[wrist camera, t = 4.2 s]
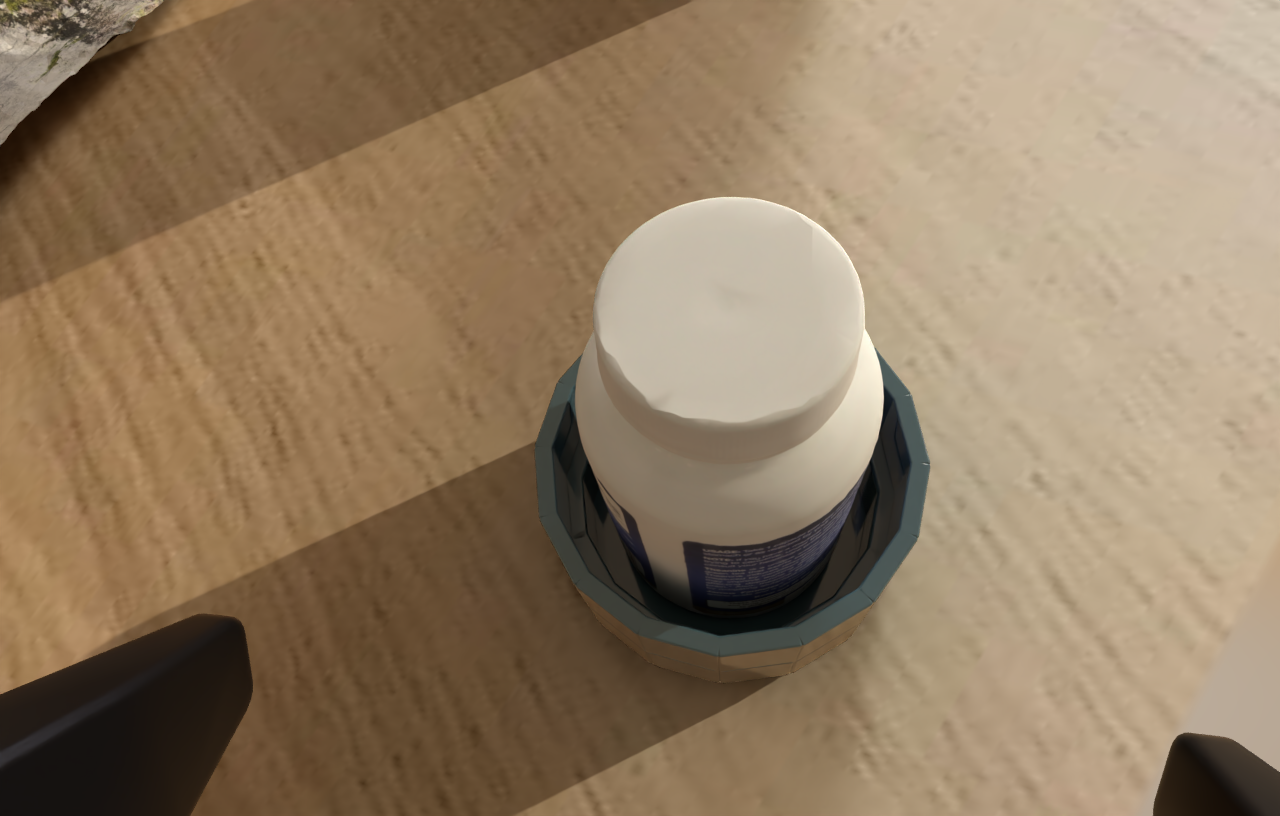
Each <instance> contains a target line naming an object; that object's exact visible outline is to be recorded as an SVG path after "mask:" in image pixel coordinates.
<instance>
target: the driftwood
mask: <svg viewBox="0 0 1280 816" xmlns="http://www.w3.org/2000/svg"><path fill="white" fill-rule="evenodd" d="M163 1H164V0H0V145H1V144H2V143H3V142H4V141H5V140H6V139H7V137H8V135H9V134H10V133H11V132H12V131H13V130H14V128H15V127H16V126H17V124H18V123H19V122H20V121H22V120H23V119H24V118H25V117H26V116H27V115H28V114H29V113H30V112H31V111H34V110H35V109H36V108H37V107H38V106H39V105H40V104H41V103H42V101H43V100H44V99H45V98H47V97H48V96H49V95H50V94H51V93H52V92H53V91H54V90H55V89H56V88H57V87H58V86H59V85H60V84H61V83H62V82H63V81H65V80H66V79H67V78H68V77H70V76H71V75H74V74H76V73H77V72H78V70H79V69H80V68H81V67H83V66H84V65H85V64H86V63H87V62H88V61H89V60H90V59H91V58H92V56H93V55H94V54H95V53H96V52H97V50H98V49H99V48H100V47H102V46H103V45H105V44H106V43H107V41H108V40H109V39H110V38H111V37H112V36H114V35H116V34H123V33H126V32H130V31H132V29H133V27H134V25H135V22H136V21H137V20H138V19H139V18H140V17H142V16H145V15H147V14H149V13H150V12H152V11H153V10H154V9H155V8H156V7H158V6H159V5H160V4H161V3H162V2H163Z"/></svg>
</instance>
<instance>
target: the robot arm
mask: <svg viewBox="0 0 1280 816" xmlns="http://www.w3.org/2000/svg"><path fill="white" fill-rule="evenodd" d="M252 692H253V679H252V673H251V667H250V660H249V654H248V647H247V641H246V635H245V630H244V626H243V625H242V623H241V622H240V621H239V620H238V619H236V618H235V617H230V616H221V615H213V614H197V615H194V616H191V617H189V618H186V619H184V620H182V621H179V622H177V623H174V624H172V625H169V626H167V627H164V628H162V629H160V630H157V631H155V632H152V633H150V634H147V635H145V636H142V637H140V638H138V639H135V640H133V641H130V642H128V643H125V644H123V645H120V646H118V647H115V648H113V649H111V650H108V651H106V652H103V653H101V654H98V655H96V656H93V657H91V658H89V659H86V660H84V661H81V662H79V663H76V664H74V665H71V666H69V667H67V668H64V669H62V670H59V671H57V672H54V673H52V674H49V675H47V676H45V677H42V678H40V679H37V680H35V681H32V682H30V683H27V684H25V685H22V686H20V687H18V688H15V689H13V690H10V691H8V692H5V693H3V694H0V816H190V815H191V813H192V811H193V809H194V807H195V805H196V804H197V802H198V800H199V798H200V796H201V794H202V792H203V791H204V789H205V787H206V785H207V783H208V781H209V779H210V778H211V776H212V774H213V772H214V770H215V768H216V766H217V765H218V763H219V761H220V759H221V757H222V755H223V753H224V752H225V750H226V748H227V746H228V744H229V742H230V740H231V738H232V737H233V735H234V733H235V731H236V729H237V727H238V725H239V724H240V722H241V720H242V718H243V716H244V714H245V712H246V711H247V708H248V706H249V703H250V700H251V697H252ZM1153 816H1280V772H1279V771H1277V770H1276V769H1274V768H1273V767H1272V766H1270V765H1269V764H1267V763H1266V762H1264V761H1263V760H1262V759H1260V758H1259V757H1257V756H1256V755H1254V754H1253V753H1252V752H1250V751H1248V750H1247V749H1246V748H1245V747H1243V746H1242V745H1240V744H1239V743H1237V742H1236V741H1234V740H1232V739H1229V738H1226V737H1220V736H1212V735H1204V734H1195V733H1183V734H1180V735H1179V736H1177V737H1176V739H1175V740H1174V741H1173V743H1172V746H1171V748H1170V751H1169V755H1168V758H1167V761H1166V765H1165V768H1164V771H1163V774H1162V778H1161V781H1160V784H1159V788H1158V791H1157V794H1156V798H1155V801H1154V808H1153Z"/></svg>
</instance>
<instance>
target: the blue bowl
mask: <svg viewBox="0 0 1280 816" xmlns="http://www.w3.org/2000/svg"><path fill="white" fill-rule="evenodd" d="M874 349H875V351H876V354H877V357H878V360H879V364H880V368H881V373H882V380H883V393H884V402H883V416H882V421H881V426H880V431H879V434H878V440H877V442H876V445H875V447H874V451H873V454H872V457H871V459H870V461H869V463H868V466H867V468H866V471H865V473H864V475H863V478H862V481H861V484H860V486H859V488H858V490H857V493H856V495H855V498H854V502H853V504H852V506H851V509H850V511H849V514H848V516H847V519H846V522H845V524H844V526H843V529H842V531H841V535H840V538H839V541H838V543H837V545H836V547H835V549H834V551H833V553H832V555H831V557H830V560H829V561H828V563H827V564H826V566H825V568H824V569H823V571H822V572H821V573H820V575H819V576H818V577H817V578H816V579H815V581H814V582H813V583H812V584H811V585H810V586H809V587H808V588H807V589H806V590H804V591H803V592H802V593H801V594H800V595H799V596H798V597H796V598H795V599H793V600H792V601H790V602H789V603H787V604H785V605H783V606H781V607H779V608H778V609H775V610H773V611H770V612H767V613H764V614H761V615H757V616H752V617H745V618H732V619H730V618H716V617H712V616H707V615H703V614H699V613H696V612H692V611H689V610H687V609H685V608H683V607H681V606H678V605H676V604H675V603H673V602H671V601H669V600H668V599H666V598H664V597H663V596H662V595H660V594H659V593H657V592H656V591H655V590H654V589H653V588H652V587H651V586H650V585H648V584H647V582H646V581H645V580H644V579H643V577H642V576H641V575H640V574H639V572H638V571H637V569H636V568H635V567H634V565H633V563H632V562H631V560H630V558H629V556H628V554H627V552H626V550H625V549H624V546H623V544H622V543H621V540H620V538H619V535H618V533H617V530H616V528H615V525H614V523H613V521H612V519H611V516H610V514H609V511H608V508H607V506H606V503H605V501H604V498H603V496H602V493H601V490H600V488H599V485H598V483H597V480H596V478H595V475H594V473H593V471H592V468H591V465H590V463H589V461H588V458H587V456H586V454H585V451H584V449H583V446H582V442H581V438H580V434H579V429H578V424H577V417H576V408H575V390H576V380H577V374H578V369H579V365H580V361H581V358H582V355H583V353H582V355H581V356H580V357H579V358H578V359H577V360H576V361H575V362H574V364H573V365H572V366H571V367H570V368H569V369H568V370H567V371H566V373H565V374H564V375H563V376H562V377H561V378H560V379H559V381H558V383H557V384H556V387H555V390H554V393H553V395H552V398H551V401H550V404H549V407H548V410H547V412H546V415H545V418H544V421H543V424H542V427H541V429H540V432H539V435H538V438H537V441H536V443H535V449H534V454H535V468H536V483H537V497H538V512H539V518H540V522H541V524H542V526H543V527H544V529H545V531H546V533H547V535H548V537H549V539H550V541H551V543H552V544H553V546H554V548H555V550H556V552H557V554H558V556H559V558H560V560H561V561H562V563H563V565H564V567H565V569H566V571H567V573H568V575H569V577H570V578H571V580H572V582H573V584H574V585H575V587H576V588H577V590H578V591H579V593H580V595H581V596H582V598H583V599H584V601H585V602H586V603H587V605H588V606H589V608H590V609H591V611H592V612H593V614H594V615H595V617H596V619H597V620H598V621H599V622H600V623H601V624H602V625H603V626H604V627H605V628H607V629H608V630H609V631H610V632H612V633H613V634H614V635H615V636H617V637H618V638H619V639H620V640H622V641H623V642H624V643H625V644H626V645H628V646H629V647H630V648H631V649H633V650H634V651H635V652H636V653H638V654H639V655H640V656H641V657H643V658H644V659H645V660H646V661H648V662H649V663H651V664H652V663H653V664H654V665H655V666H658V667H662V668H665V669H669V670H673V671H676V672H680V673H683V674H687V675H690V676H694V677H697V678H701V679H705V680H708V681H712V682H715V683H717V682H721V683H731V682H738V681H746V680H753V679H761V678H769V677H776V676H784V675H788V674H789V673H794V672H796V671H797V670H799V669H801V668H802V667H804V666H805V665H807V664H809V663H810V662H812V661H814V660H815V659H817V658H819V657H820V656H822V655H824V654H825V653H827V652H829V651H830V650H832V649H834V648H835V647H837V646H838V645H840V644H842V643H843V642H845V641H847V640H848V638H850V637H851V636H852V635H853V633H854V632H855V631H856V629H857V628H858V626H859V625H860V623H861V622H862V620H863V619H864V618H865V616H866V615H867V613H868V612H869V610H870V609H871V607H872V606H873V604H874V603H875V602H876V600H877V599H878V597H879V596H880V594H881V593H882V591H883V590H884V588H885V587H886V586H887V584H888V583H889V581H890V580H891V578H892V577H893V575H894V574H895V572H896V571H897V569H898V568H899V567H900V565H901V564H902V562H903V561H904V559H905V558H906V556H907V555H908V553H909V552H910V551H911V549H912V548H913V546H914V545H915V543H916V542H917V539H918V537H919V533H920V527H921V521H922V515H923V509H924V503H925V496H926V490H927V484H928V478H929V472H930V465H929V464H930V460H929V456H928V453H927V449H926V445H925V442H924V438H923V434H922V431H921V427H920V424H919V420H918V416H917V413H916V409H915V405H914V402H913V398H912V395H911V394H910V392H909V390H908V389H907V388H906V386H905V385H904V384H903V383H902V381H901V380H900V379H899V378H898V376H897V375H896V374H895V373H894V371H893V370H892V369H891V367H890V366H889V365H888V364H887V362H886V361H885V360H884V359H883V357H882V356H881V355H880V354H879V352H878V351H877V350H876V348H875V347H874Z"/></svg>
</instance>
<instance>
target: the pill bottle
mask: <svg viewBox="0 0 1280 816" xmlns="http://www.w3.org/2000/svg"><path fill="white" fill-rule="evenodd" d="M864 327H865V308H864V297H863V292H862V288H861V284H860V280H859V277H858V275H857V273H856V271H855V268H854V266H853V264H852V262H851V260H850V258H849V257H848V255H847V254H846V252H845V251H844V249H843V248H842V247H841V245H840V244H839V243H838V242H837V241H836V240H835V239H834V238H833V237H832V236H831V235H830V234H829V233H828V232H827V231H826V230H824V229H823V228H822V227H821V226H819V225H818V224H816V223H815V222H814V221H812V220H810V219H809V218H807V217H806V216H804V215H803V214H800V213H798V212H796V211H794V210H792V209H790V208H788V207H785V206H782V205H779V204H776V203H773V202H768V201H764V200H760V199H753V198H741V197H718V198H710V199H704V200H699V201H695V202H691V203H687V204H683V205H680V206H677V207H675V208H672V209H670V210H667V211H665V212H663V213H661V214H659V215H657V216H655V217H654V218H652V219H650V220H649V221H647V222H646V223H644V224H643V225H641V226H640V227H639V228H638V229H636V230H635V231H634V232H633V233H632V234H631V235H629V236H628V237H627V238H626V239H625V240H624V242H623V243H622V244H621V245H620V246H619V247H618V248H617V249H616V251H615V252H614V254H613V255H612V256H611V258H610V259H609V261H608V263H607V264H606V266H605V268H604V270H603V272H602V275H601V277H600V280H599V282H598V285H597V289H596V292H595V298H594V305H593V330H594V331H593V333H592V335H591V337H590V339H589V340H588V343H587V345H586V347H585V349H584V352H583V355H582V358H581V361H580V365H579V369H578V374H577V380H576V390H575V408H576V417H577V424H578V429H579V434H580V438H581V442H582V446H583V449H584V451H585V454H586V456H587V458H588V461H589V463H590V465H591V468H592V471H593V473H594V475H595V478H596V480H597V483H598V485H599V488H600V490H601V493H602V496H603V498H604V501H605V503H606V506H607V508H608V511H609V514H610V516H611V519H612V521H613V523H614V525H615V528H616V530H617V533H618V535H619V538H620V540H621V543H622V544H623V546H624V549H625V550H626V552H627V554H628V556H629V558H630V560H631V562H632V563H633V565H634V567H635V568H636V569H637V571H638V572H639V574H640V575H641V576H642V577H643V579H644V580H645V581H646V582H647V584H648V585H650V586H651V587H652V588H653V589H654V590H655V591H656V592H657V593H659V594H660V595H662V596H663V597H664V598H666V599H668V600H669V601H671V602H673V603H675V604H676V605H678V606H681V607H683V608H685V609H687V610H689V611H692V612H696V613H699V614H703V615H707V616H712V617H716V618H730V619H732V618H745V617H752V616H757V615H761V614H764V613H767V612H770V611H773V610H775V609H778V608H779V607H781V606H783V605H785V604H787V603H789V602H790V601H792V600H793V599H795V598H796V597H798V596H799V595H800V594H801V593H802V592H803V591H804V590H806V589H807V588H808V587H809V586H810V585H811V584H812V583H813V582H814V581H815V579H816V578H817V577H818V576H819V575H820V573H821V572H822V571H823V569H824V568H825V566H826V564H827V563H828V561H829V560H830V557H831V555H832V553H833V551H834V549H835V547H836V545H837V543H838V541H839V538H840V535H841V531H842V529H843V526H844V524H845V522H846V519H847V516H848V514H849V511H850V509H851V506H852V504H853V502H854V498H855V495H856V493H857V490H858V488H859V486H860V484H861V481H862V478H863V475H864V473H865V471H866V468H867V466H868V463H869V461H870V459H871V457H872V454H873V451H874V447H875V445H876V442H877V440H878V434H879V431H880V426H881V421H882V416H883V402H884V393H883V380H882V373H881V368H880V364H879V360H878V357H877V354H876V351H875V349H874V346H873V344H872V342H871V340H870V337H869V335H868V333H867V332H866V330H865V328H864Z"/></svg>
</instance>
